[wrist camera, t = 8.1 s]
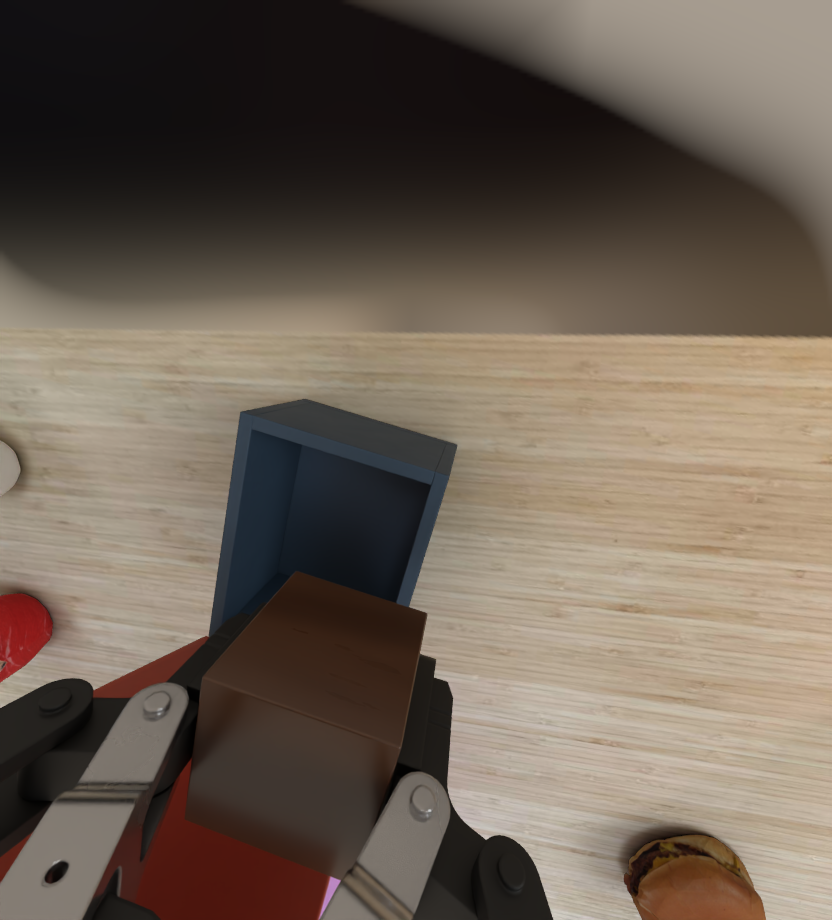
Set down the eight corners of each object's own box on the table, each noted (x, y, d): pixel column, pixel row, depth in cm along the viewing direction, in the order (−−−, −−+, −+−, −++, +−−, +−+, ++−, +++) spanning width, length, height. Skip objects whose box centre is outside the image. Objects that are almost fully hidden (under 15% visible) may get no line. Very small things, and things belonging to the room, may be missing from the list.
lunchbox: (304, 398, 29) (240, 411, 21) (457, 444, 28) (449, 476, 20) (272, 572, 33) (208, 636, 25) (404, 617, 32) (380, 699, 25)
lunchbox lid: (-193, 827, 9) (-334, 1105, 8) (285, 1041, 8) (182, 1383, 7) (206, 635, 25) (172, 721, 24) (380, 698, 24) (352, 790, 23)
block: (295, 569, 13) (201, 677, 8) (427, 612, 12) (401, 748, 8) (275, 677, 14) (182, 820, 9) (394, 719, 13) (356, 888, 9)
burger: (766, 859, 33) (811, 937, 28) (700, 918, 35) (732, 998, 31) (656, 805, 33) (684, 874, 29) (600, 867, 36) (617, 939, 31)
